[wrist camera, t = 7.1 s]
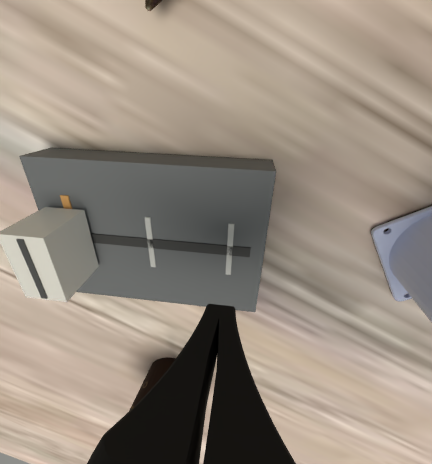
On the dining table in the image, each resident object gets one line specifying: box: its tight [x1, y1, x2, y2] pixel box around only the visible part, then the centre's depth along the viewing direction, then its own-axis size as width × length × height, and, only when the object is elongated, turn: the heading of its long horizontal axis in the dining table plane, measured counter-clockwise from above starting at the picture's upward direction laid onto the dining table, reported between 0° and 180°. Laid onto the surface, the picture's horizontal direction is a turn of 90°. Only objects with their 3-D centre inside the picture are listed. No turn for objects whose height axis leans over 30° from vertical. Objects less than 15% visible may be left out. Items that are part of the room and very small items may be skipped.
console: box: [19, 148, 276, 312], centre depth 20 cm, size 17×12×3 cm
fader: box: [0, 207, 99, 302], centre depth 17 cm, size 3×5×4 cm, turn 179°
